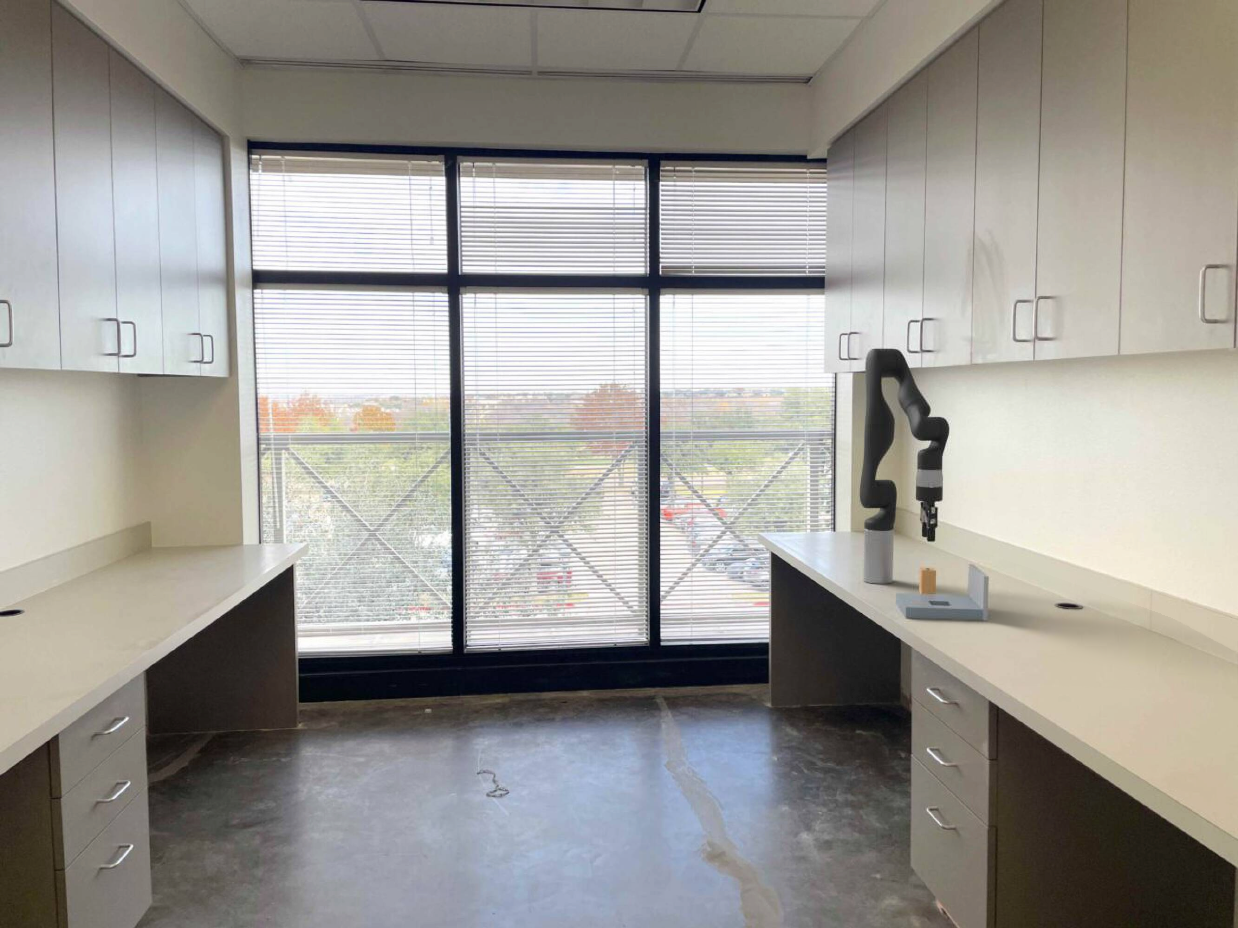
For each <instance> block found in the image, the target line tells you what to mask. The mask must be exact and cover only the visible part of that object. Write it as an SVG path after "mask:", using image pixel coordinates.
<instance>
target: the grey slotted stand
mask: <svg viewBox="0 0 1238 928" xmlns="http://www.w3.org/2000/svg"><path fill="white" fill-rule="evenodd" d="M967 572H968V575H967V576H968V579H967V582H968V583H967V594H950V593H949V594H946V593H944V594H943V593H942V594H940V593H936V594H919V593H908V592H895V604H896V605H897V607H898V609H899V610H900V612H901V613H902V614H903V616H904V618H905V619H920V620H921V619H922V620H923V619H924V620H925V619H926V620H953V621H954V620H955V621H956V620H957V621H982V622H983V621H986V622H988V616H989V613H988V610H989V583H990V582H989V580H990V579H989V578H990V577H989V575H987V574H986V573H985V572H984V571H982V570H981V569H980V568H979V567H977V566H976V565H975V564H973V563H968V571H967Z"/></svg>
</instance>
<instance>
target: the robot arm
mask: <svg viewBox="0 0 1238 928" xmlns="http://www.w3.org/2000/svg"><path fill="white" fill-rule="evenodd" d="M864 363H865V364H864V365H865V367H864V368H865V369H864V371H865V373H864V374H865V393H866V394H865V395H866V397H865V399H866V400H865V418H864V433H863V434H864V435H863V438H864V439H863V441H864V442H863V459H862V461H863V462H862V469H861V477H860V484H859V485H860V486H859V502H860V505H861V506H862V507H863V508H864V509H879V510H878V512H876V514H874V515H873V516H871V517H868V518H866V519H865V520H864V524H863V525H864V531H863V532H864V533H863V538H864V539H863V542H864V543H863V577H862V578H863V582H865V583H868V584H869V583H870V584H877V585H878V584H879V585H881V584H883V585H884V584H885V585H886V584H891V583H894V581H893V580H894V541H895V540H894V536H895V535H894V532H895V531H894V530H895V522H896V513H897V511H896V510H897V501H898V500H897V499H898V493H897V492H898V490H897V486H896V484H895V482H894V481H893V480H891V479H876V477H877V473H878V468H879V466H880V464H881V461H882V460H883V458H884V457H885V455H887V453H888V451H889V450H890V448H891V446H892V445H893V442H894V439H895V427H896V422H895V421H896V420H895V416H894V413H893V412H892V410H891V407H890V406H889V404H888V403H887V400H886V399H885V396H884V393H883V387H882V385H883V384H882V380H883V379H882V378H885V379H889V378H890V379H892V378H893V379H895V381H896V382H898V384H899V388H898V392H897V399H898V404H899V406H900V408H901V409H902V411H903V412H904V414H905V415H906V416H907V419H908V424H909V427H910V432H911V436H913V438H915V440H918V441H921V442H926V441H927V442H928V441H929V446H928V447H926V448H923V449H920V450H919V451H918V452H917V457H916V458H917V461H916V463H917V465H916V476H915V500H916V501H917V502H920V512H919V514H920V515H919V517H920V518H919V521H920V524H921V537H922V538H926V541H927V542H931V543H934V542H936V530H937V528H938V527H939V524H938V522H939V521H938V516H939V515H938V513H939V512H938V510H939V508H938V506H936V502H942V501H943V498H944V495H943V494H944V493H943V492H944V490H943V487H944V474H943V456H944V452H945V449H946V446H947V442H948V438H949V435H950V425H949V422H948V420H947V419H946V418H945V417H943V416H930V414H931V410H932V409H931V406H930V405H929V403H928V401H927V400H926V398H925V397H924V395H923V394H922V393H921V390H920V389H919V388H918V385H917V384H916V382H915V379H914V376H913V374H912V371H911V369H910V367H909V364H908V362H907V360H906V357H905V356H904V354H903V352H902V351H901V350H900V349H896V348H872V349H870V350H869V351H868V352H867V354H866V357H865V362H864Z"/></svg>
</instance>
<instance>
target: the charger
mask: <svg viewBox="0 0 1238 928" xmlns="http://www.w3.org/2000/svg"><path fill="white" fill-rule="evenodd" d="M918 574H919V578H918V579H919V583H918V584H919V585H918V586H919V587H918V594H937V588H936V587H937V586H936V585H937V584H936V583H937V570H936V569H935V568H934V567H919V573H918Z"/></svg>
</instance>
